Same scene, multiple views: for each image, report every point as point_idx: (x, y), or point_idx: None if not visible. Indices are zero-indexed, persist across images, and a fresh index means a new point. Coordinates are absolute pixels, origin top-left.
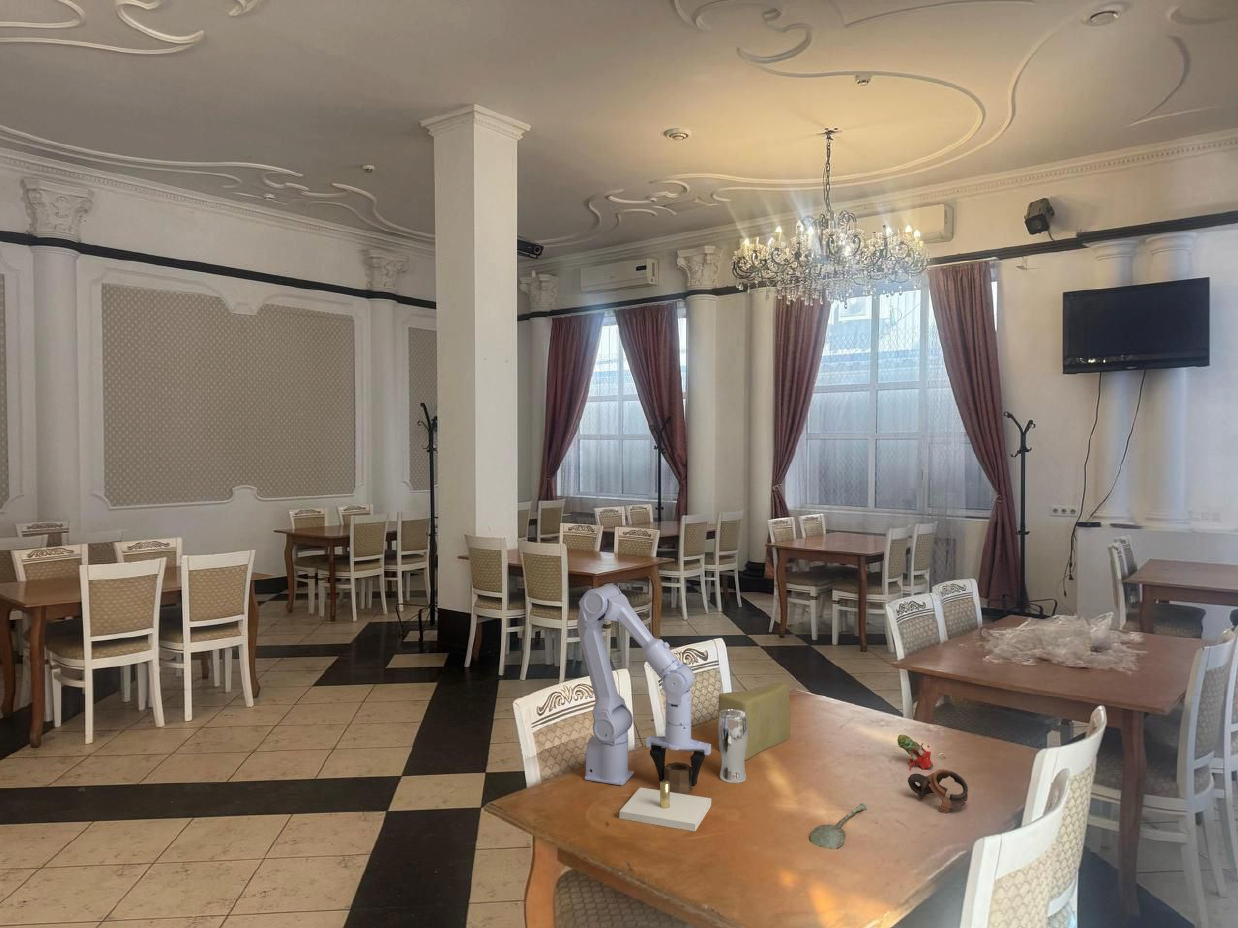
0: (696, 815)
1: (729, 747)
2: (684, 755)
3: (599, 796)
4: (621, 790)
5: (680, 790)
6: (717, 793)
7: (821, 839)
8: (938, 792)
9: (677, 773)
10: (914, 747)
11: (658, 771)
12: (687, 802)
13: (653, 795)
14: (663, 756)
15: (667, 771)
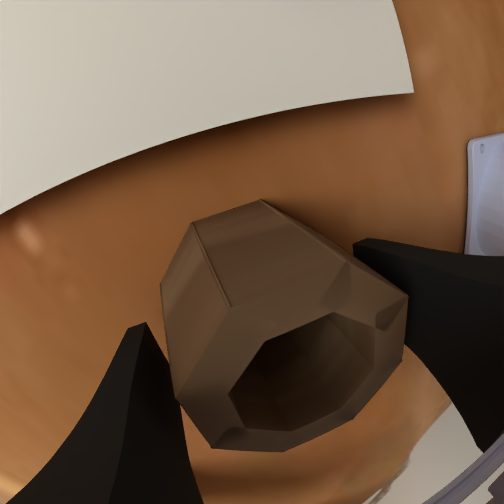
0: None
1: None
2: (353, 460)
3: (468, 14)
4: (453, 97)
5: (190, 241)
6: (54, 376)
7: None
8: None
9: (248, 288)
10: None
11: (416, 249)
12: (4, 65)
13: (289, 6)
14: (462, 368)
15: (361, 268)
